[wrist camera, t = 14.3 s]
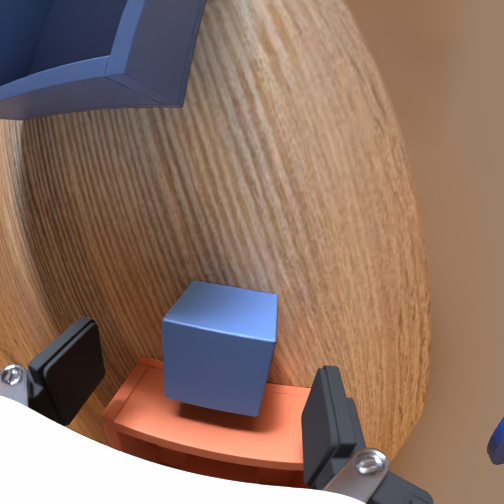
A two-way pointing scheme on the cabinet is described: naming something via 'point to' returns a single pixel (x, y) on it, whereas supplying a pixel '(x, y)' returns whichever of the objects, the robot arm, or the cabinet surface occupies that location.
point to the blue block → (219, 347)
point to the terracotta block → (220, 469)
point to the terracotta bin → (207, 428)
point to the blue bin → (94, 54)
